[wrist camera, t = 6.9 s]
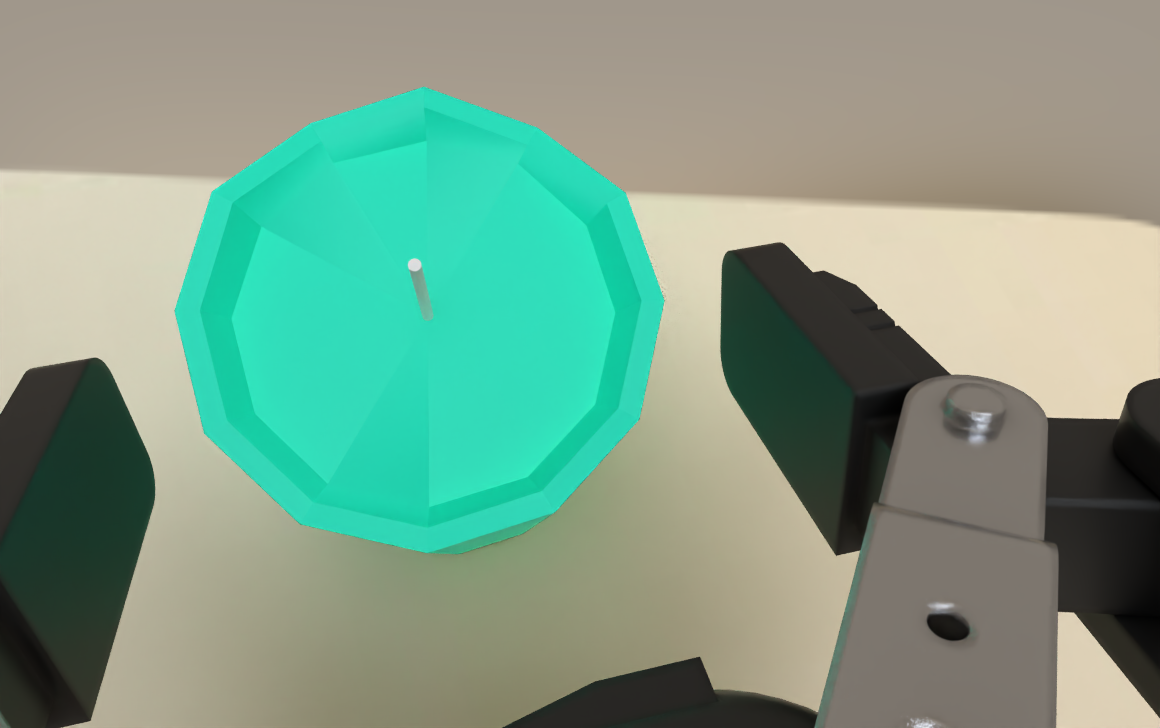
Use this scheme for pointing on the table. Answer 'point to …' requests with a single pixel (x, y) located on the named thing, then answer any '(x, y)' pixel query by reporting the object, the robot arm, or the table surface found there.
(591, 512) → the table surface
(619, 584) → the table surface
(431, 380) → the candle
